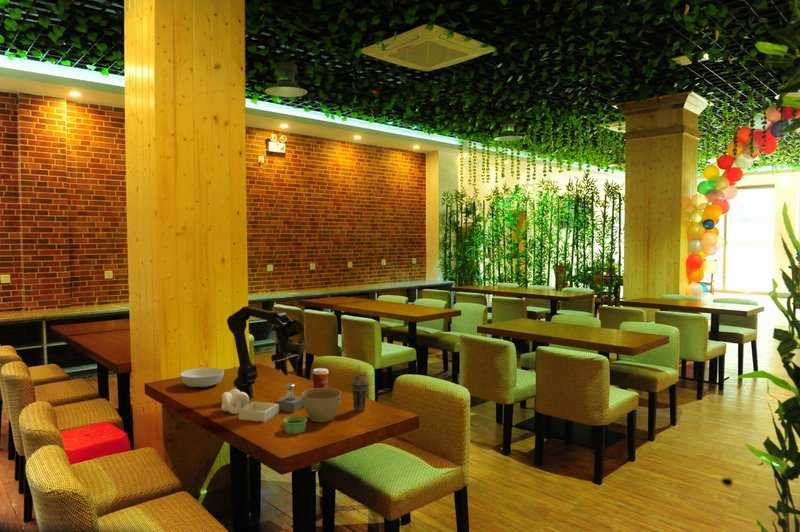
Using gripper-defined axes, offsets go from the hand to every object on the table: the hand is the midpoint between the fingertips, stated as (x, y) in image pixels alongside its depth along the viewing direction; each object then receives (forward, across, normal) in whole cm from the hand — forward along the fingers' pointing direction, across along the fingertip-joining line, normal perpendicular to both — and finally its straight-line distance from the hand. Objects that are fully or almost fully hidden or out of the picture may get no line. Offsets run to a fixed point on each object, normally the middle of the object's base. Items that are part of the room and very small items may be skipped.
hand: (291, 373), depth 239 cm
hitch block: (+14, 0, +4) cm, 15 cm away
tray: (+13, -14, +11) cm, 23 cm away
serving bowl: (-4, +19, +61) cm, 64 cm away
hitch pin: (+14, 0, +4) cm, 15 cm away
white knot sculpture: (+9, -12, +25) cm, 29 cm away
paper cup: (+16, +17, -3) cm, 23 cm away
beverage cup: (+23, +7, -24) cm, 34 cm away
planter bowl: (+21, -9, -14) cm, 27 cm away
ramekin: (+21, -25, -10) cm, 34 cm away
